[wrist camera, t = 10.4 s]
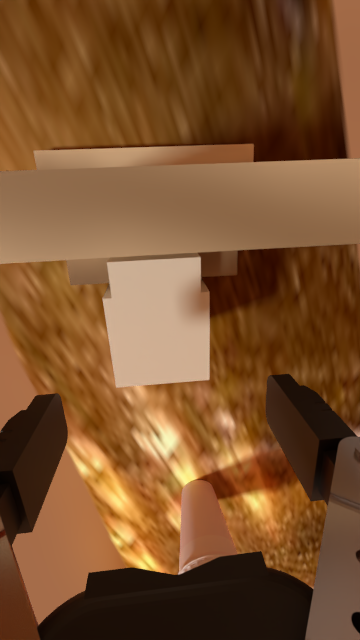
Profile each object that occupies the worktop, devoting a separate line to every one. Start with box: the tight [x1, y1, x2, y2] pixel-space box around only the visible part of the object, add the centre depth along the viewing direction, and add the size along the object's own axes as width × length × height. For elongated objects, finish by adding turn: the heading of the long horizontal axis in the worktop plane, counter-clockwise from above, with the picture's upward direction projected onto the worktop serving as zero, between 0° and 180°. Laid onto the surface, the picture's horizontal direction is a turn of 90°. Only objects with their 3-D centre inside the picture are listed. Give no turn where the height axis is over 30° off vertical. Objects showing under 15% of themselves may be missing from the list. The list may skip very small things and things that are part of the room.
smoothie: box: [178, 480, 237, 575], centre depth 27 cm, size 6×6×14 cm
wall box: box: [103, 253, 210, 387], centre depth 21 cm, size 9×6×7 cm
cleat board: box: [0, 144, 360, 285], centre depth 15 cm, size 8×16×18 cm, turn 93°
